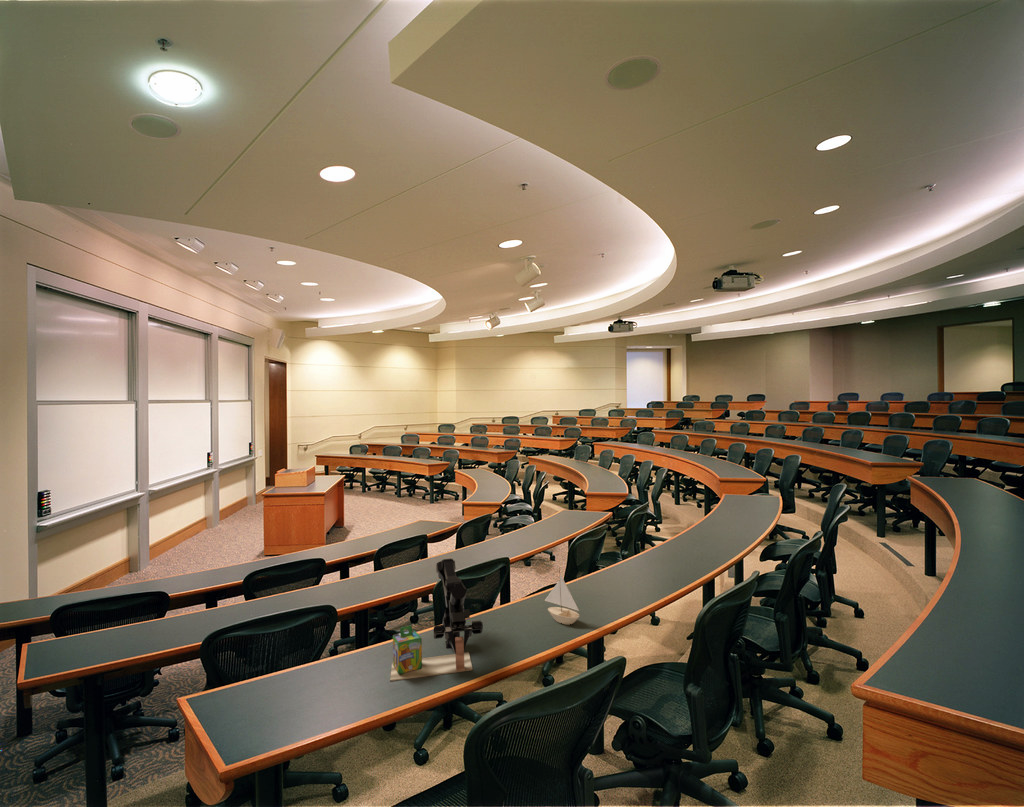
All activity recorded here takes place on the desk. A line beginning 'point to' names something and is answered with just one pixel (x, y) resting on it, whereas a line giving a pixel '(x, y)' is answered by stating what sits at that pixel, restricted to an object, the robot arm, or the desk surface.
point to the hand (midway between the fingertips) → (459, 652)
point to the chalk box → (407, 651)
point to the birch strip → (439, 664)
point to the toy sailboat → (562, 603)
